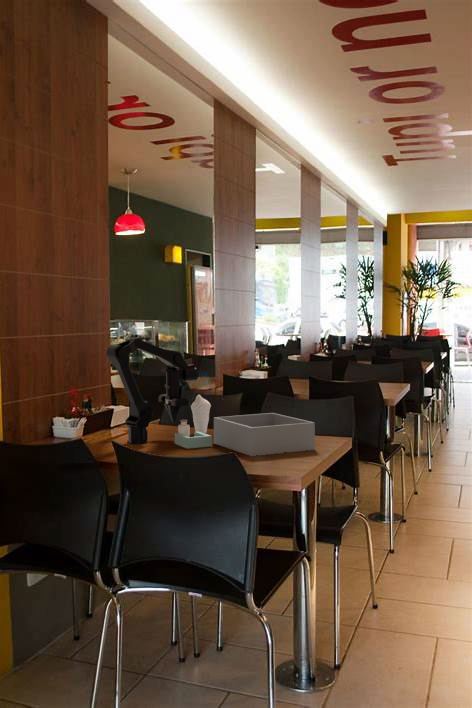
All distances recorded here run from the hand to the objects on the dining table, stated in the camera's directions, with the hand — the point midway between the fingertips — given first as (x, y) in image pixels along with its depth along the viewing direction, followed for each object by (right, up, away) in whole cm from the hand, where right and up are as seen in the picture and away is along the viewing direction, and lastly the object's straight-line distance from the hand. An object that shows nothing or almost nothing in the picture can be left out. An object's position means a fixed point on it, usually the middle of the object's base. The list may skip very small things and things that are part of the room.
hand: (173, 421), depth 289 cm
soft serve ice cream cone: (+10, -6, +12) cm, 17 cm away
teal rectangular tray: (+9, -7, -16) cm, 20 cm away
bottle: (+5, -7, -9) cm, 12 cm away
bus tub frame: (+35, -7, -20) cm, 41 cm away
